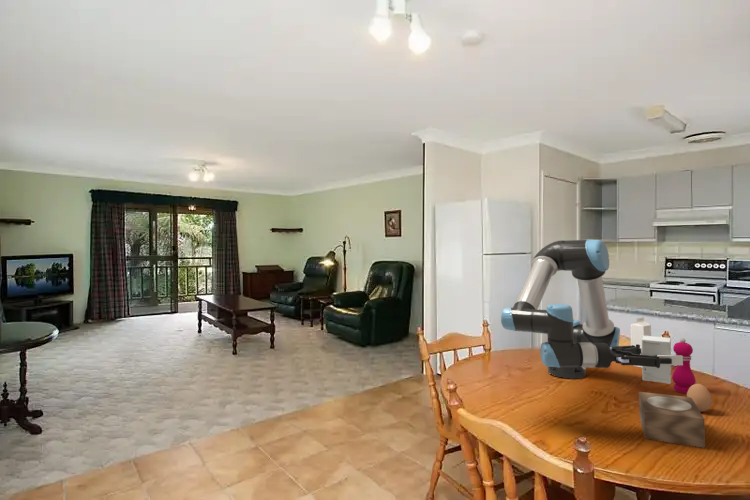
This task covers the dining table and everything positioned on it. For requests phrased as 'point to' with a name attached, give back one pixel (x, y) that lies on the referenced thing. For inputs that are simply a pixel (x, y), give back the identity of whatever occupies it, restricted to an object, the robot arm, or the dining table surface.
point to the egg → (700, 397)
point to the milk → (639, 332)
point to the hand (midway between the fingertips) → (672, 355)
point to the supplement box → (654, 348)
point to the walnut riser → (671, 419)
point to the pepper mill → (683, 368)
